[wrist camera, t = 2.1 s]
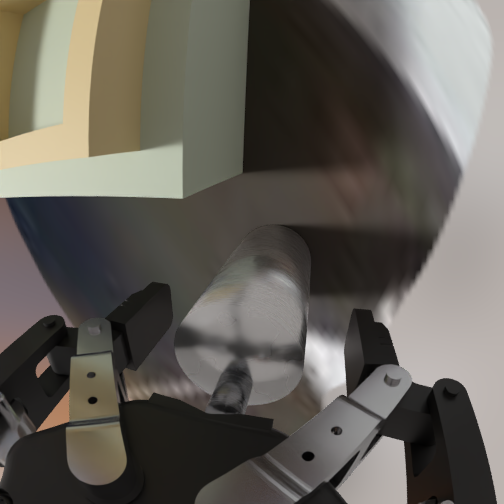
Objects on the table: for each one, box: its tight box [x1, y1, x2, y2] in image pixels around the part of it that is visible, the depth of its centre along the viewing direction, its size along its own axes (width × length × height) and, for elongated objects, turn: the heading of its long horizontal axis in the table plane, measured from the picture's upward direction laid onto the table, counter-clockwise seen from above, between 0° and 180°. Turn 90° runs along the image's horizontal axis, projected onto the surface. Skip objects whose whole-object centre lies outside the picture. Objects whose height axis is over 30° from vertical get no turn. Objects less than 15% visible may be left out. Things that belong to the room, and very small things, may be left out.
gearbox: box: [0, 0, 250, 199], centre depth 10 cm, size 14×15×10 cm
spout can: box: [174, 225, 311, 414], centre depth 13 cm, size 4×4×11 cm
